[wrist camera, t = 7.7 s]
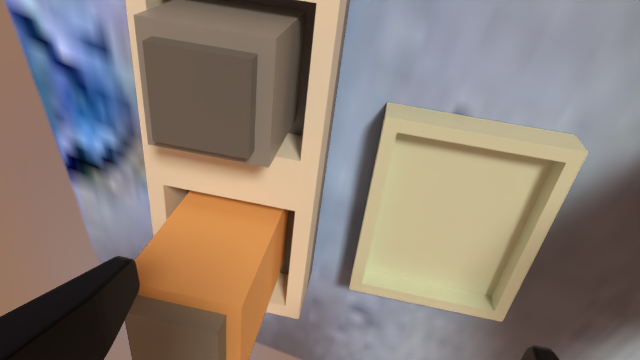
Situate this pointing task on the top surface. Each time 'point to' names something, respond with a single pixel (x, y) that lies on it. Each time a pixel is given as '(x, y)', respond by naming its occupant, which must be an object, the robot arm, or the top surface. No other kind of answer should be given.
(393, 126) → the tray
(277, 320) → the top surface
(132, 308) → the plug
